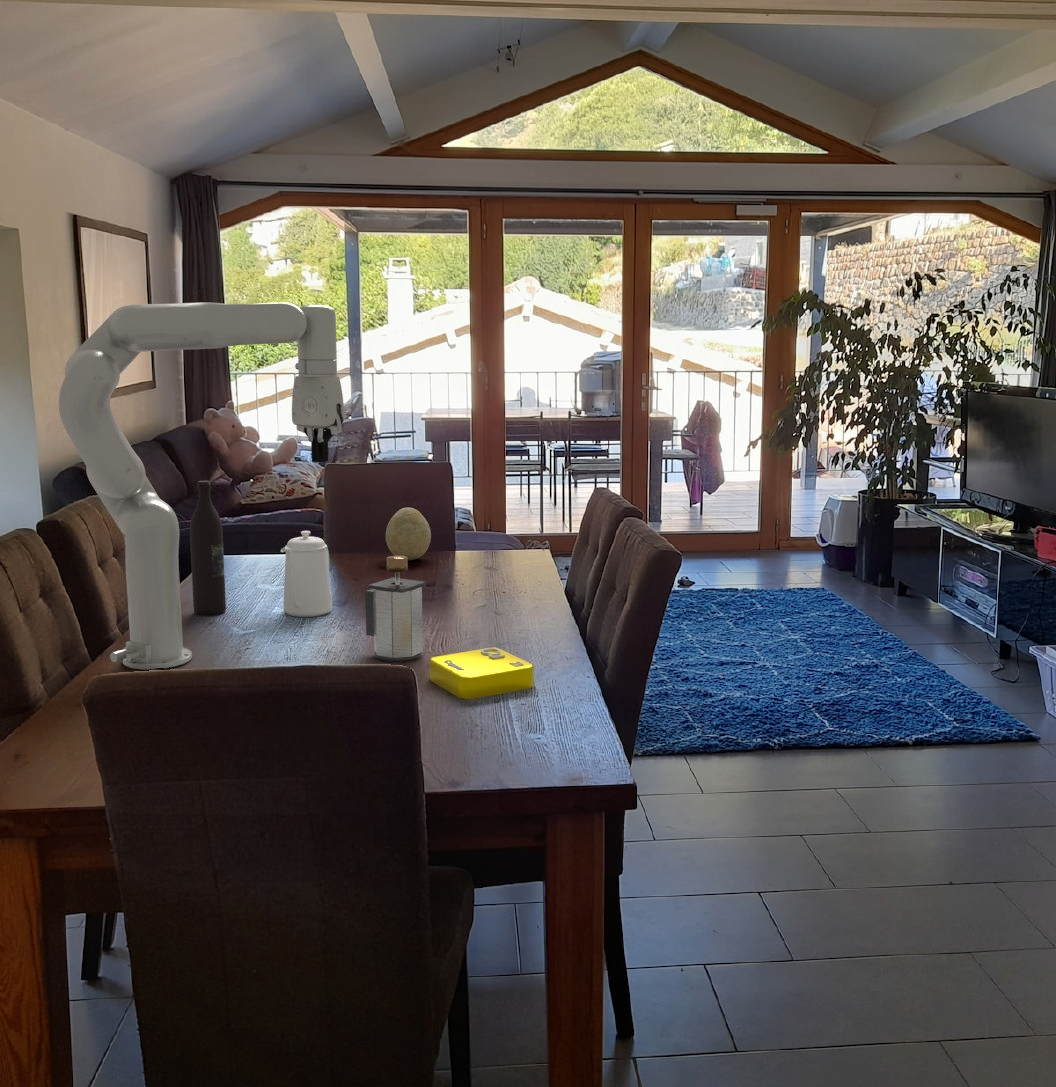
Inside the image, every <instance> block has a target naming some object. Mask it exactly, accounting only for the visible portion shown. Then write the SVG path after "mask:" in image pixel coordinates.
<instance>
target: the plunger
mask: <svg viewBox="0 0 1056 1087" xmlns="http://www.w3.org/2000/svg"><path fill="white" fill-rule="evenodd" d="M408 569H409V568H408V560H407V557H406V556H395V555H391V556H387V557H386V571H387V572H391V573H394V578H395V585H400V579H401V578H400V576H401V575H400V573H401V572H402V573H403V572H406V571H408Z"/></svg>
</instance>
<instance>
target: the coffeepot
mask: <svg viewBox="0 0 1056 1087" xmlns="http://www.w3.org/2000/svg"><path fill="white" fill-rule="evenodd" d="M300 534H301V536H298V537H294V538H290V539H289V540H288V542H287V544H286V545H285V546H284V547H282V548H281V549H280V553H284V552H285V562H284V563H285V564H284V585H283V587H284V588H283V605H282V606H283V607H282V608H283V611H284V613H285V614H287V615H289V616H292V617H295V618H297V617H298V618H313V617H319V616H323V615H326V614H329V612H331V611H332V609H333V600H332V591H331V582H330V572H329V570H330V568H329V567H330V553H329V549H328V545H327V544H326V543H325V541H324V540H323V539H322V538H320V537H318V536H317V537H316V536H310V535H311V531H310V530H302V531H300Z"/></svg>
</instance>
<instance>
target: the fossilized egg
mask: <svg viewBox="0 0 1056 1087" xmlns="http://www.w3.org/2000/svg"><path fill="white" fill-rule="evenodd" d="M385 530H386V531H385V542H386V545H387V547H388V549H389V551H390V552H391V553H392V555H393V556H406V557H407V561H413V560H417V559H418V558H420V557H422V556H423V555H424V554H425V553H426V552H427V550H428V549H429V546H430V544H431V539H432V533H431V527H430V524H429V523H428V521H427V520H426V518H425V517H424V515H423V514H422V513H421V512H420V511H419V510H418V509H416V508H413V507H403V508H400V509H399V510H398V511H396V512H395V514H393V516H392V517H391V518H390V520H389V522H388V524H387V526H386V528H385Z"/></svg>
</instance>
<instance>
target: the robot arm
mask: <svg viewBox="0 0 1056 1087" xmlns="http://www.w3.org/2000/svg"><path fill="white" fill-rule="evenodd" d="M295 342H296V343H297V361H298V362H296V363H295V365H294V367H295V369H296V370H297V371H298V375H295V377H294V382H293V386H292V397H291V421H292V423H293V425H295V426H296V430H297V431H298V432H301V433H303V434H305V436H306V437H307V440H308V441H309V443H310V446H311V449H310V450H311V462H312V463H325V462H328V461H329V442H331V439H332V437H334V435H336V434H340V433H342V432H343V427H342V425H343V424H344V420H345V410H344V409H345V406H344V397H343V396H344V395H343V389H342V383H341V378H340V376H338V366H337V365H338V360H337V359H338V354H337V317H336V311H335V309H334V308H333V307H332V306H329V305H320V304H319V305H318V304H313V305H312V304H311V305H308V304H307V305H306V304H305V305H301V306H298V305H296V304H294V303H291V302H264V303H261V302H258V303H257V302H255V303H223V302H222V303H221V302H183V303H182V302H178V303H143V304H137V303H136V304H130V305H129V304H128V305H123V306H121V307H119V308H117V309H115V311H113V312H112V313H111V314H110V315H109V316H108V317H107V318H106V319H105V321H103V322H102V324H101V325H100V326H99V327H98V328H97V329H96V330H95V331H94V332H93V333H92V334H91V335H90V336H89V337H88V338H87V339H85V341H84V342H83V343H82V344H81V345H80V346H79V347H78V348H77V349H76V350H75V351H74V352H73V353H72V354H71V355H70V356H69V358H68V359H67V361H66V362H65V365H64V366H65V367H64V375H65V376H64V379H63V381H62V383H61V387H60V389H59V395H58V410H59V411H58V412H59V416H60V420H61V423H62V425H63V428H64V429H65V432H66V434H67V435H68V437H69V439H70V441H71V442H72V444H73V446H74V447H75V449H76V451H77V453H78V455H79V456H80V458H81V460H82V461H83V463H84V464H85V469H86V475H87V478H88V481H89V482H90V484H91V486H92V488H93V490H95V492H96V495H97V496H98V497H99V498H100V500H101V502H102V504H103V505H104V507H105V509H106V510H107V512H108V513H109V515H110V516H111V518H112V519H113V521H114V522H115V524H116V526H117V527H118V528H119V530H120V531H121V532H122V534H123V535H124V540H125V545H124V546H125V559H124V560H125V579H126V580H125V581H126V592H127V593H126V594H127V595H126V596H127V608H128V625H129V626H128V627H129V640H128V641H126V642H125V647H123V649H121V650H116V651H111V653H110V654H109V659H110V660H111V662H112V663H117V662H119V661H122V664H123V665H124V666H125V667H127V668H130V669H134V670H143V671H144V670H146V671H149V670H150V669H147V668H164V669H168V668H169V667H170V668H174V667H178V666H181V665H185V664H187V663H188V662H190V661H191V659H192V658H193V653H192V651H191V650H190V649H188V648H186V647H184V644H183V643H184V642H183V625H182V624H183V622H182V620H183V619H182V604H181V584H180V570H179V569H180V568H179V567H180V566H179V564H180V563H179V553H180V552H179V548H180V526H179V520H178V517H177V515H176V512H175V511H174V509H173V508H172V507H171V506H170V505H169V504H168V503H166V502H165V501H164V500H162V499H161V498H160V497H159V495H158V494H157V492H156V490H155V488H154V487H153V485H152V484H151V482H150V480H149V479H148V476H147V475H146V473H147V472H146V468H145V466H144V463H143V461H142V460H141V458H140V457H139V455H138V454H137V453H136V452H135V450H134V449H133V447H132V446H131V444H130V442H129V441H128V439H127V437H126V435H125V434H124V432H123V431H122V429H121V426H120V424H118V422H117V419H116V418H115V416H114V415H113V414H114V413H113V412H112V409H111V397H112V394H113V393H114V391H115V390H116V388H117V386H118V385H119V382H120V377H121V374H122V372H124V370H125V369H126V368H127V367H129V365H130V364H131V363H132V362H134V360H135V359H136V358H137V357H138V356H139V355H140V353H141V352H161V351H162V352H164V351H165V352H166V351H183V350H185V351H186V350H207V349H208V350H210V349H223V348H227V347H228V348H229V347H236V346H248V345H249V346H250V345H251V346H252V345H253V346H254V345H272V344H273V345H274V344H275V345H276V344H291V343H295Z"/></svg>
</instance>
